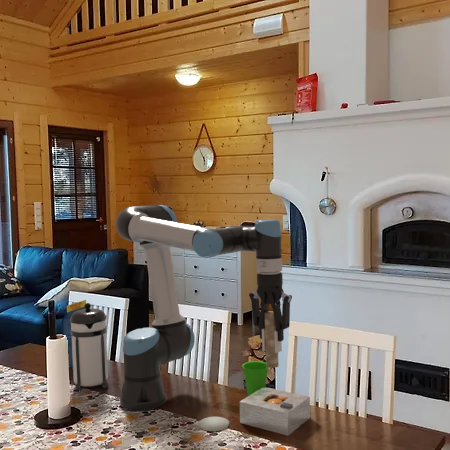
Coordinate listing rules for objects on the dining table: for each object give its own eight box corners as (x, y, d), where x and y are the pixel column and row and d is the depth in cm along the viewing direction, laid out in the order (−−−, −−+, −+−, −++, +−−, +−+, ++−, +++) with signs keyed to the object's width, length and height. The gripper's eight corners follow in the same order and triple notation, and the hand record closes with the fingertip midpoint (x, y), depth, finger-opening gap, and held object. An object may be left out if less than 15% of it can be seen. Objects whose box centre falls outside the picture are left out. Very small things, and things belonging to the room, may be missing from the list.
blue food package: (63, 367, 219) (60, 305, 217) (82, 358, 230) (79, 299, 228) (75, 369, 217) (73, 306, 215) (94, 360, 228) (92, 300, 226)
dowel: (264, 366, 164) (262, 313, 163) (270, 363, 167) (268, 310, 166) (274, 368, 162) (272, 314, 161) (280, 364, 165) (279, 311, 164)
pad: (192, 426, 162) (192, 425, 162) (210, 415, 170) (210, 414, 170) (217, 434, 157) (217, 432, 157) (235, 422, 164) (234, 420, 164)
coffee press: (123, 381, 202) (119, 300, 199) (90, 396, 188) (86, 309, 186) (89, 373, 211) (85, 296, 209) (56, 387, 197) (52, 304, 195)
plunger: (265, 410, 164) (264, 402, 164) (272, 405, 168) (272, 397, 168) (278, 413, 162) (277, 405, 162) (285, 408, 166) (285, 400, 165)
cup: (268, 403, 178) (267, 370, 177) (240, 402, 180) (239, 369, 179) (271, 393, 186) (270, 361, 186) (244, 392, 188) (244, 360, 188)
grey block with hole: (240, 422, 164) (239, 399, 163) (264, 406, 175) (263, 384, 175) (288, 435, 155) (287, 411, 154) (310, 417, 166) (309, 394, 166)
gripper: (238, 272, 164) (241, 350, 165) (288, 275, 155) (290, 358, 156) (252, 269, 170) (254, 344, 172) (300, 272, 161) (303, 351, 162)
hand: (272, 350), depth 164 cm, fingers closed on dowel, 3 cm apart
